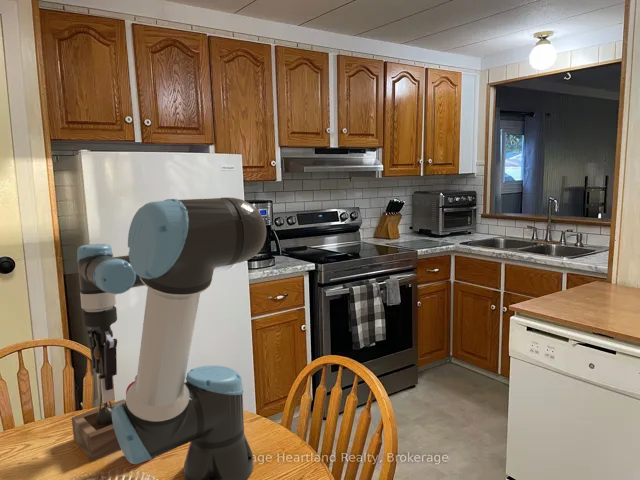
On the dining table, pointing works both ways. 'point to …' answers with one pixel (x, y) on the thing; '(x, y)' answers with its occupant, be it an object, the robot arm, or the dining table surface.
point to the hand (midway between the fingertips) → (106, 399)
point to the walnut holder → (95, 434)
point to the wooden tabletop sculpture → (106, 412)
